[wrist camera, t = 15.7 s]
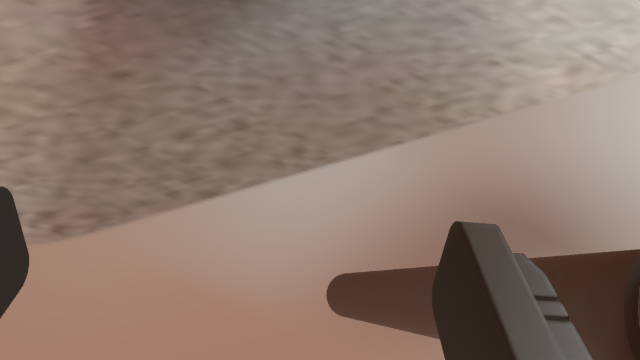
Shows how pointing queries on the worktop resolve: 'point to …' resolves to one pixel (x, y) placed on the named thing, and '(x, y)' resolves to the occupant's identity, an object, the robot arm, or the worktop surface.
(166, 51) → the worktop surface
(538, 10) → the worktop surface
